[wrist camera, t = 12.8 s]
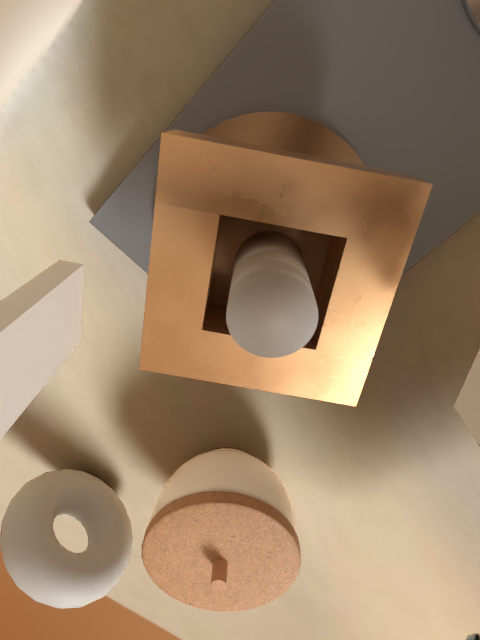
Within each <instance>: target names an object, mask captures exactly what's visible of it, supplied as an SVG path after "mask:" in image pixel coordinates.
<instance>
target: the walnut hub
mask: <svg viewBox="0 0 480 640" xmlns="http://www.w3.org/2000/svg"><path fill="white" fill-rule="evenodd" d="M202 135H207V136H212V137H218V138H223V139H228V140H233V141H239V142H244V143H249V144H254V145H260V146H265V147H270V148H275V149H281V150H286V151H291V152H296V153H302V154H307V155H312V156H317V157H323V158H328V159H333V160H338V161H343V162H349V163H354V164H359V165H364V164H363V162H362V161H361V159H360V158H359V156H358V155H357V153H356V152H355V151H354V150H353V149H352V148H351V147H350V145H349V144H348V143H347V142H346V141H345V140H343V139H342V138H341V137H340V136H339V135H337V134H336V133H335V132H333V131H332V130H330V129H329V128H327V127H325V126H324V125H322V124H320V123H318V122H316V121H313V120H311V119H309V118H306V117H303V116H299V115H295V114H291V113H283V112H256V113H250V114H244V115H240V116H237V117H234V118H231V119H228V120H226V121H224V122H222V123H220V124H218V125H216V126H214V127H212V128H211V129H209V130H208V131H206V132H205V133H203V134H202ZM364 166H365V165H364ZM331 237H332V235H328V234H322V233H317V232H311V231H306V230H301V229H295V228H290V227H284V226H279V225H273V224H268V223H263V222H257V221H252V220H246V219H241V218H235V217H230V216H225V215H223V218H222V224H221V230H220V236H219V243H218V249H217V255H216V262H215V268H214V274H213V281H212V287H211V293H210V299H209V303H211V304H217V305H222V306H227V311H226V322H227V327H228V330H229V332H230V334H231V336H232V338H233V339H234V341H235V342H236V343H237V344H238V345H239V346H240V347H241V348H243V349H244V350H246V351H247V352H249V353H251V354H254V355H256V356H260V357H266V358H278V357H283V356H287V355H290V354H292V353H294V352H296V351H298V350H299V349H301V348H302V347H303V346H305V345H306V344H307V343H308V341H309V340H310V339H311V338H312V336H313V334H314V332H315V330H316V327H317V324H318V307H317V303H316V300H315V297H316V293H317V289H318V285H319V282H320V278H321V274H322V270H323V267H324V263H325V259H326V255H327V252H328V248H329V244H330V240H331Z"/></svg>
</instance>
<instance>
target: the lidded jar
mask: <svg viewBox="0 0 480 640" xmlns="http://www.w3.org/2000/svg"><path fill="white" fill-rule="evenodd" d="M142 559H143V564H144V566H145V568H146V570H147V573H148V574H149V576H150V577H151V579H152V580H153V582H154V583H155V584H156V585H157V586H158V587H159V588H160V589H162V590H163V591H164V592H165V593H167V594H168V595H170V596H171V597H173V598H175V599H176V600H179V601H181V602H183V603H185V604H187V605H191V606H194V607H197V608H202V609H206V610H213V611H240V610H246V609H252V608H255V607H258V606H261V605H264V604H266V603H268V602H271V601H273V600H274V599H276V598H277V597H279V596H280V595H282V594H283V593H284V592H285V591H286V590H287V589H288V588H289V587H290V586H291V584H292V583H293V582H294V580H295V578H296V576H297V574H298V572H299V568H300V564H301V554H300V545H299V541H298V536H297V529H296V522H295V517H294V513H293V509H292V505H291V501H290V499H289V496H288V493H287V491H286V489H285V487H284V485H283V484H282V482H281V480H280V479H279V478H278V476H277V475H276V473H275V472H274V471H273V470H272V469H271V468H270V467H269V466H267V465H266V464H265V463H264V462H262V461H261V460H259V459H258V458H256V457H254V456H252V455H250V454H248V453H247V452H244V451H242V450H238V449H233V448H220V449H215V450H211V451H209V452H206V453H202V454H200V455H197V456H195V457H193V458H192V459H190V460H189V461H187V462H186V463H184V464H183V465H182V466H181V467H179V468H178V469H177V470H176V471H175V472H174V474H173V475H172V476H171V477H170V479H169V480H168V481H167V483H166V485H165V486H164V488H163V490H162V492H161V494H160V496H159V498H158V500H157V502H156V505H155V507H154V510H153V514H152V517H151V521H150V523H149V525H148V527H147V529H146V532H145V536H144V540H143V544H142Z"/></svg>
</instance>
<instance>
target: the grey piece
mask: <svg viewBox="0 0 480 640" xmlns="http://www.w3.org/2000/svg"><path fill="white" fill-rule="evenodd" d="M61 514H66V515H70V516H72V517H75V518H76V519H77V520H78V521H80V522H81V524H82V525H83V526H84V528H85V530H86V533H87V535H88V547H87V549H86V550H85V551H84V552H82V553H74V552H71V551H68V550H67V549H66V548H64V547H63V546H62V545H61V544H60V543H59V541H58V540H57V539H56V537H55V534H54V531H53V522H54V518H55V517H56V516H57V515H61ZM132 540H133V537H132V530H131V522H130V519H129V516H128V514H127V511H126V509H125V507H124V504H123V503H122V501H121V500H120V499H119V497H118V496H117V495H116V493H115V492H114V490H113V489H111V488H110V487H109V486H108V485H107V484H105V483H104V482H103V481H102V480H101V479H99V478H97V477H95V476H93V475H91V474H88V473H86V472H84V471H78V470H71V469H63V470H57V471H50V472H45V473H43V474H42V475H40V476H38V477H36V478H34V479H32V480H30V481H29V482H27V483H26V484H25V485H24V486H23V487H22V488H21V489H20V490H19V492H18V493H17V494H16V495H15V496H14V497H13V498H12V500H11V501H10V503H9V506H8V508H7V511H6V513H5V515H4V518H3V520H2V525H1V539H0V547H1V551H2V555H3V559H4V563H5V566H6V569H7V571H8V572H9V574H10V575H11V577H12V579H13V580H14V582H15V583H16V584H17V586H18V588H20V589H21V590H22V591H23V592H25V593H26V594H27V595H29V596H30V597H31V598H32V599H34V600H35V601H37V602H40V603H43V604H46V605H49V606H53V607H56V608H76V607H82V606H84V605H87V604H89V603H91V602H93V601H95V600H98V599H100V598H102V597H104V596H105V595H106V594H107V593H108V592H109V591H110V590H111V589H112V588H113V587H114V586H115V585H116V584H117V583H118V581H119V580H120V579H121V577H122V575H123V573H124V571H125V569H126V567H127V565H128V563H129V560H130V554H131V547H132Z"/></svg>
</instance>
